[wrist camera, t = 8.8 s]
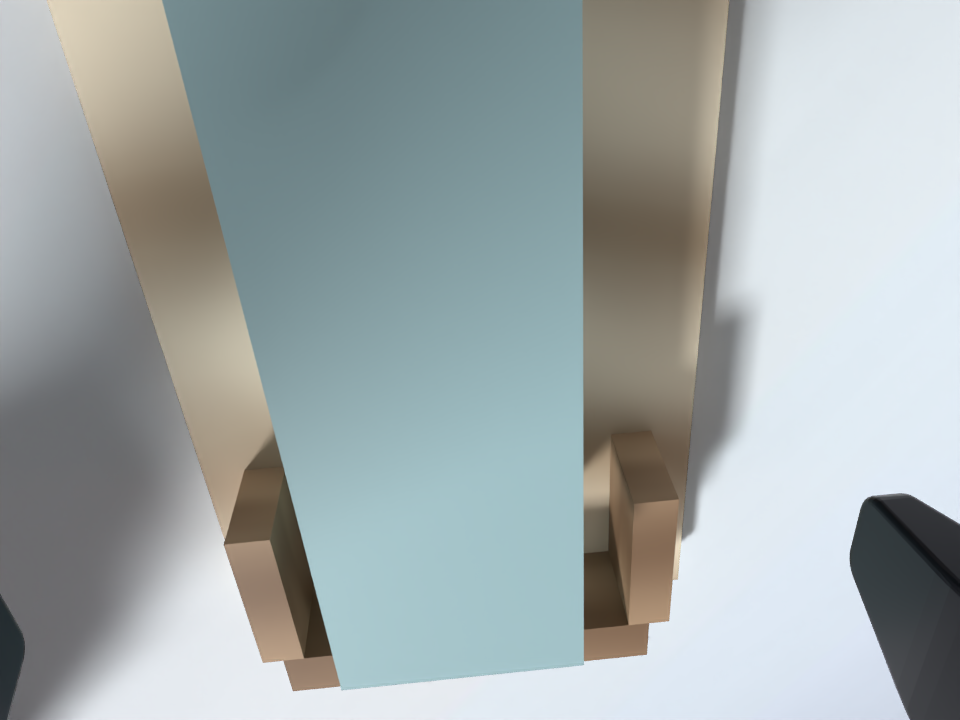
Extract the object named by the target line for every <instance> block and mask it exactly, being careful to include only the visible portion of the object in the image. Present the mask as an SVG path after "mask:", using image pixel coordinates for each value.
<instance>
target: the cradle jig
mask: <svg viewBox="0 0 960 720" xmlns="http://www.w3.org/2000/svg"><path fill="white" fill-rule="evenodd" d="M47 3H48V6H49V9H50V12H51V15H52V18H53V21H54V24H55V27H56V30H57V33H58V36H59V39H60V42H61V45H62V48H63V51H64V54H65V57H66V60H67V63H68V66H69V69H70V73H71V76H72V79H73V82H74V85H75V88H76V91H77V94H78V97H79V100H80V103H81V106H82V109H83V112H84V115H85V118H86V121H87V124H88V127H89V130H90V133H91V136H92V139H93V142H94V145H95V148H96V151H97V154H98V157H99V160H100V163H101V166H102V169H103V172H104V175H105V179H106V182H107V185H108V188H109V191H110V194H111V197H112V200H113V203H114V206H115V209H116V212H117V215H118V218H119V221H120V224H121V227H122V230H123V233H124V236H125V239H126V242H127V245H128V248H129V251H130V254H131V257H132V260H133V263H134V266H135V269H136V272H137V275H138V278H139V282H140V285H141V288H142V291H143V294H144V297H145V300H146V303H147V306H148V309H149V312H150V315H151V318H152V321H153V324H154V327H155V330H156V333H157V336H158V339H159V342H160V345H161V348H162V351H163V354H164V357H165V360H166V363H167V366H168V369H169V372H170V375H171V378H172V381H173V384H174V388H175V391H176V394H177V397H178V400H179V403H180V406H181V409H182V412H183V415H184V418H185V421H186V424H187V427H188V430H189V433H190V436H191V439H192V442H193V445H194V448H195V451H196V454H197V457H198V460H199V463H200V466H201V469H202V472H203V475H204V478H205V481H206V484H207V487H208V490H209V494H210V497H211V500H212V503H213V506H214V509H215V512H216V515H217V518H218V521H219V524H220V527H221V530H222V533H223V536H224V539H225V542H224V547H225V550H226V553H227V556H228V559H229V562H230V565H231V568H232V571H233V574H234V577H235V580H236V583H237V586H238V589H239V592H240V595H241V598H242V601H243V604H244V607H245V610H246V613H247V616H248V619H249V622H250V625H251V628H252V631H253V634H254V637H255V640H256V643H257V646H258V649H259V652H260V655H261V658H262V661H263V663H265V662H275V661H284V664H285V667H286V670H287V673H288V677H289V680H290V683H291V686H292V690H293V691H300V690H309V689H319V688H329V687H338V686H340V682H339V679H338V675H337V671H336V667H335V663H334V659H333V655H332V652H331V648H330V644H329V640H328V636H327V632H326V629H325V625H324V621H323V617H322V613H321V609H320V606H319V602H318V598H317V594H316V590H315V586H314V582H313V579H312V575H311V571H310V567H309V563H308V559H307V556H306V552H305V548H304V544H303V540H302V536H301V533H300V529H299V525H298V521H297V517H296V513H295V509H294V506H293V502H292V498H291V494H290V490H289V486H288V483H287V479H286V475H285V471H284V467H283V463H282V460H281V456H280V452H279V448H278V444H277V440H276V436H275V433H274V429H273V425H272V421H271V417H270V413H269V410H268V406H267V402H266V398H265V394H264V390H263V387H262V383H261V379H260V375H259V371H258V367H257V363H256V360H255V356H254V352H253V348H252V344H251V340H250V337H249V333H248V329H247V325H246V321H245V317H244V314H243V310H242V306H241V302H240V298H239V294H238V290H237V287H236V283H235V279H234V275H233V271H232V267H231V264H230V260H229V256H228V252H227V248H226V244H225V241H224V237H223V233H222V229H221V225H220V221H219V217H218V214H217V210H216V206H215V202H214V198H213V194H212V191H211V187H210V183H209V179H208V175H207V171H206V168H205V164H204V160H203V156H202V152H201V148H200V144H199V141H198V137H197V133H196V129H195V125H194V121H193V118H192V114H191V110H190V106H189V102H188V98H187V95H186V91H185V87H184V83H183V79H182V75H181V71H180V68H179V64H178V60H177V56H176V52H175V48H174V45H173V41H172V37H171V33H170V29H169V25H168V22H167V18H166V14H165V10H164V6H163V2H162V0H47ZM728 9H729V0H582V35H583V514H584V661H590V660H599V659H609V658H619V657H628V656H638V655H647V645H648V629H649V623H655V622H665V621H669V615H670V603H671V591H672V580H676V579H678V571H679V560H680V548H681V537H682V526H683V515H684V503H685V492H686V481H687V470H688V458H689V447H690V436H691V425H692V413H693V402H694V391H695V380H696V368H697V357H698V346H699V335H700V323H701V312H702V301H703V290H704V278H705V267H706V256H707V245H708V233H709V222H710V211H711V200H712V189H713V177H714V166H715V155H716V144H717V132H718V121H719V110H720V99H721V87H722V76H723V65H724V54H725V42H726V31H727V20H728Z"/></svg>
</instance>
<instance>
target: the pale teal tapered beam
mask: <svg viewBox="0 0 960 720" xmlns="http://www.w3.org/2000/svg"><path fill="white" fill-rule="evenodd" d="M162 2H163V6H164V10H165V14H166V18H167V22H168V25H169V29H170V33H171V37H172V41H173V45H174V48H175V52H176V56H177V60H178V64H179V68H180V71H181V75H182V79H183V83H184V87H185V91H186V95H187V98H188V102H189V106H190V110H191V114H192V118H193V121H194V125H195V129H196V133H197V137H198V141H199V144H200V148H201V152H202V156H203V160H204V164H205V168H206V171H207V175H208V179H209V183H210V187H211V191H212V194H213V198H214V202H215V206H216V210H217V214H218V217H219V221H220V225H221V229H222V233H223V237H224V241H225V244H226V248H227V252H228V256H229V260H230V264H231V267H232V271H233V275H234V279H235V283H236V287H237V290H238V294H239V298H240V302H241V306H242V310H243V314H244V317H245V321H246V325H247V329H248V333H249V337H250V340H251V344H252V348H253V352H254V356H255V360H256V363H257V367H258V371H259V375H260V379H261V383H262V387H263V390H264V394H265V398H266V402H267V406H268V410H269V413H270V417H271V421H272V425H273V429H274V433H275V436H276V440H277V444H278V448H279V452H280V456H281V460H282V463H283V467H284V471H285V475H286V479H287V483H288V486H289V490H290V494H291V498H292V502H293V506H294V509H295V513H296V517H297V521H298V525H299V529H300V533H301V536H302V540H303V544H304V548H305V552H306V556H307V559H308V563H309V567H310V571H311V575H312V579H313V582H314V586H315V590H316V594H317V598H318V602H319V606H320V609H321V613H322V617H323V621H324V625H325V629H326V632H327V636H328V640H329V644H330V648H331V652H332V655H333V659H334V663H335V667H336V671H337V675H338V679H339V682H340V686H341V690H349V689H359V688H368V687H378V686H388V685H397V684H407V683H416V682H426V681H436V680H445V679H455V678H464V677H474V676H484V675H493V674H503V673H513V672H522V671H532V670H541V669H551V668H561V667H570V666H580V665H584V514H583V35H582V0H162Z"/></svg>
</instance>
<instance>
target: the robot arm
mask: <svg viewBox="0 0 960 720" xmlns="http://www.w3.org/2000/svg"><path fill="white" fill-rule="evenodd" d="M850 566H851V571H852V574H853V577H854V580H855V583H856V585H857V588H858V590H859V593H860V595H861V598H862V601H863V603H864V606H865V608H866V611H867V614H868V616H869V619H870V621H871V624H872V627H873V629H874V632H875V634H876V637H877V640H878V642H879V645H880V647H881V650H882V652H883V655H884V658H885V660H886V663H887V665H888V668H889V671H890V673H891V676H892V678H893V681H894V684H895V686H896V689H897V691H898V693H899V696H900V698H901V701H902V703H903V705H904V708H905V710H906V712H907V715H908V717H909V719H910V720H960V524H959V523H957V522H955V521H954V520H952V519H950V518H949V517H947V516H945V515H944V514H942V513H940V512H939V511H937V510H935V509H934V508H932V507H930V506H929V505H927V504H925V503H924V502H922V501H920V500H919V499H917V498H915V497H913V496H911V495H908V494H903V493H898V494H888V495H877V496H871V497H868V498H867V499H866V500H865V501H864V502H863V504H862V506H861V509H860V513H859V517H858V521H857V525H856V529H855V533H854V537H853V541H852V545H851V549H850ZM24 652H25V644H24V638H23V634H22V632H21V630H20V628H19V626H18V624H17V623H16V621H15V619H14V617H13V616H12V614H11V612H10V610H9V609H8V607H7V605H6V603H5V601H4V600H3V598H2V596H1V594H0V720H8V718H9V714H10V710H11V706H12V702H13V698H14V694H15V691H16V687H17V683H18V679H19V675H20V671H21V667H22V663H23V659H24Z"/></svg>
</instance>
